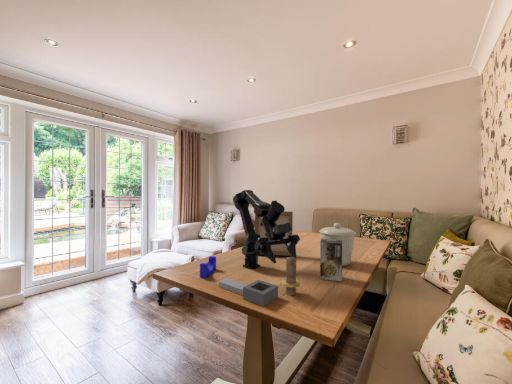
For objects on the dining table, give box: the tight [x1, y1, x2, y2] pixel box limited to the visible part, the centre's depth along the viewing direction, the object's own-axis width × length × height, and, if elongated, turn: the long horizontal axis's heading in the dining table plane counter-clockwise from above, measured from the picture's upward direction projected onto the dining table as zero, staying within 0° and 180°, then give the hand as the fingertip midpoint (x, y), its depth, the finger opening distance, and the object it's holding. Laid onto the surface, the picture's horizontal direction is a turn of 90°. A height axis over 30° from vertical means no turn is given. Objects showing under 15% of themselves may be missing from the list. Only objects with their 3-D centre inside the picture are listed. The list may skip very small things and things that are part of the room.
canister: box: [318, 222, 357, 267], centre depth 125 cm, size 18×18×21 cm
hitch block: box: [218, 277, 279, 307], centre depth 89 cm, size 9×23×4 cm, turn 53°
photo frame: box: [254, 211, 294, 257], centre depth 143 cm, size 15×22×25 cm
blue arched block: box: [199, 255, 217, 279], centre depth 109 cm, size 12×4×6 cm, turn 170°
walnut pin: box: [281, 256, 301, 296], centre depth 89 cm, size 6×6×13 cm
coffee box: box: [319, 238, 343, 282], centre depth 104 cm, size 9×6×16 cm
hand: (285, 261), depth 92 cm, fingers open, 9 cm apart
